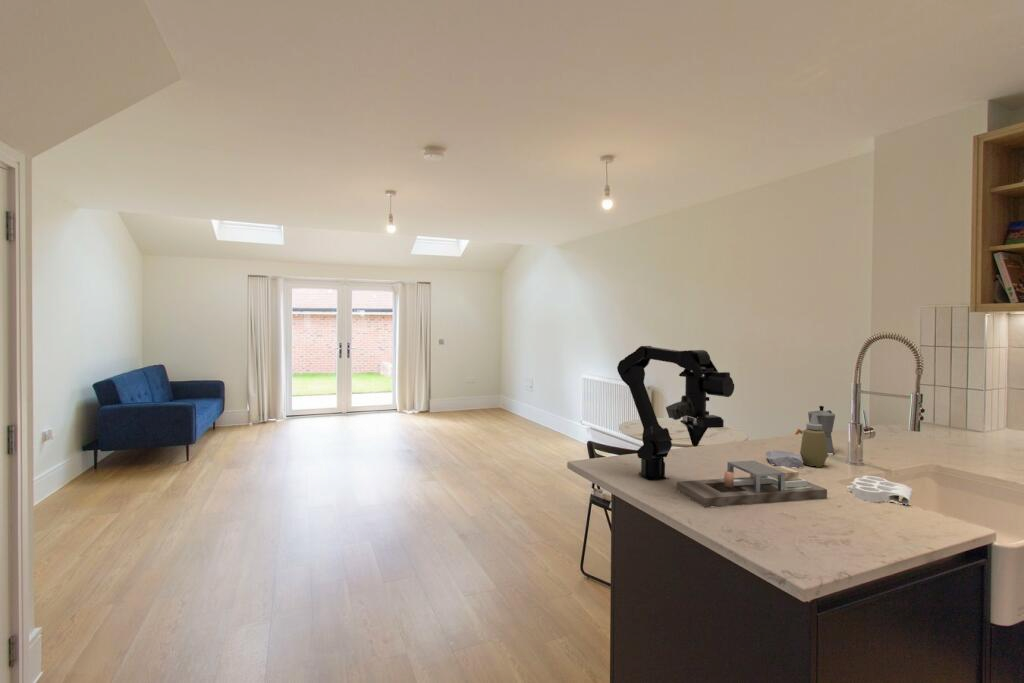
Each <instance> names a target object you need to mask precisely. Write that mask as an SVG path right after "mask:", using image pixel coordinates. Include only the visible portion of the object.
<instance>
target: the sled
mask: <svg viewBox="0 0 1024 683" xmlns="http://www.w3.org/2000/svg"><path fill="white" fill-rule="evenodd" d="M734 475H735V473H733V472H727V471H724V474H723V476H724V477H723V479H724V486H726V487H733V486H738V485H753V478H751V479H735V480H734V478H735V476H734ZM807 482H808V479H807V480H806V479H803V478H801V477H799V481H785V487H800V486H807ZM768 483H772V484H774V485H776V486H778V480H777V479H774V478H772V477H770V476H761V478H760V484H768Z"/></svg>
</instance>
